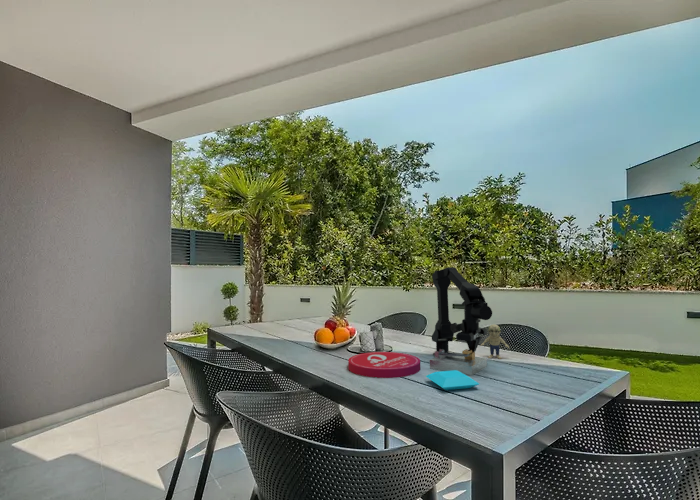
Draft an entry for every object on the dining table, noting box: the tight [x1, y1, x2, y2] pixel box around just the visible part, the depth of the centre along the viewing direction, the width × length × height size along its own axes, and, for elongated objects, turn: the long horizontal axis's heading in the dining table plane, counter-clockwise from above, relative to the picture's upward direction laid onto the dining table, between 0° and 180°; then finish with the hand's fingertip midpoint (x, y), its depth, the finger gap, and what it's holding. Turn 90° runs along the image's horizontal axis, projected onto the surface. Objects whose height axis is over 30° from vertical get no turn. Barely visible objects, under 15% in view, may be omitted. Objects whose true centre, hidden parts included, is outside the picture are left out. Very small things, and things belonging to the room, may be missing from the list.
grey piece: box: [429, 349, 488, 376], centre depth 169 cm, size 16×18×7 cm
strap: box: [440, 351, 469, 357], centre depth 167 cm, size 3×13×1 cm, turn 51°
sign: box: [347, 351, 421, 379], centre depth 170 cm, size 30×4×30 cm
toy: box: [480, 323, 510, 360], centre depth 186 cm, size 13×6×15 cm, turn 68°
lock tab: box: [461, 348, 476, 360], centre depth 166 cm, size 6×3×4 cm, turn 141°
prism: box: [425, 370, 480, 391], centre depth 145 cm, size 14×14×5 cm
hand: (472, 354), depth 169 cm, fingers closed
